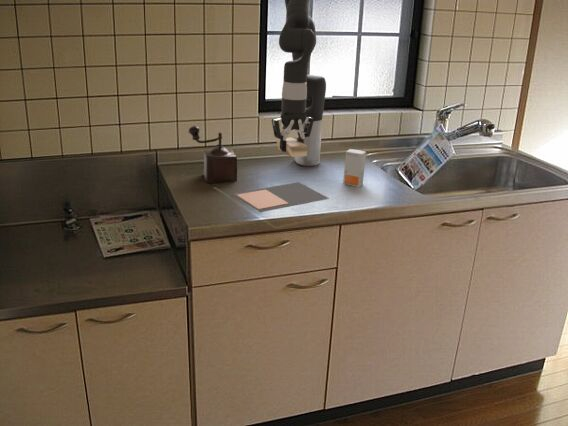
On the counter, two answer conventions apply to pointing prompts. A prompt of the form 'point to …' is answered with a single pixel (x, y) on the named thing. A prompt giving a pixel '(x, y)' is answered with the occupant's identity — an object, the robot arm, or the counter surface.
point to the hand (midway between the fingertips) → (291, 150)
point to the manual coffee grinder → (217, 160)
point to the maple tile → (294, 147)
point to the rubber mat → (280, 196)
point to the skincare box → (354, 167)
